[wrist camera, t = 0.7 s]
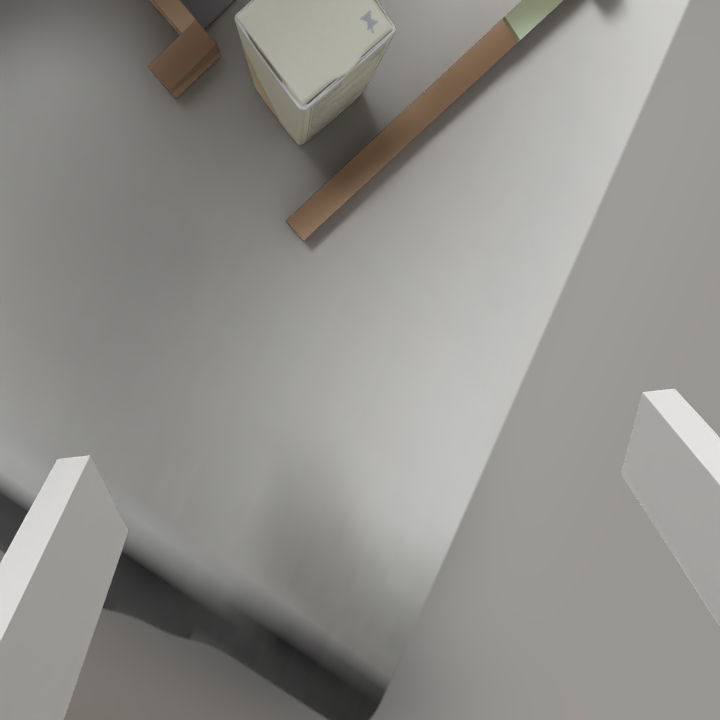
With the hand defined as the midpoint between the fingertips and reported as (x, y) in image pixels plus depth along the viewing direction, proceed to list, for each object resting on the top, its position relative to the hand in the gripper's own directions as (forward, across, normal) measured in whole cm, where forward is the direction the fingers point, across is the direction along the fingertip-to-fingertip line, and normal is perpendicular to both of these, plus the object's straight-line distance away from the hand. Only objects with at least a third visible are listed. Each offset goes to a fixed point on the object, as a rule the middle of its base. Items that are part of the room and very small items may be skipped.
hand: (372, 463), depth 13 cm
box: (+26, -1, +5) cm, 26 cm away
